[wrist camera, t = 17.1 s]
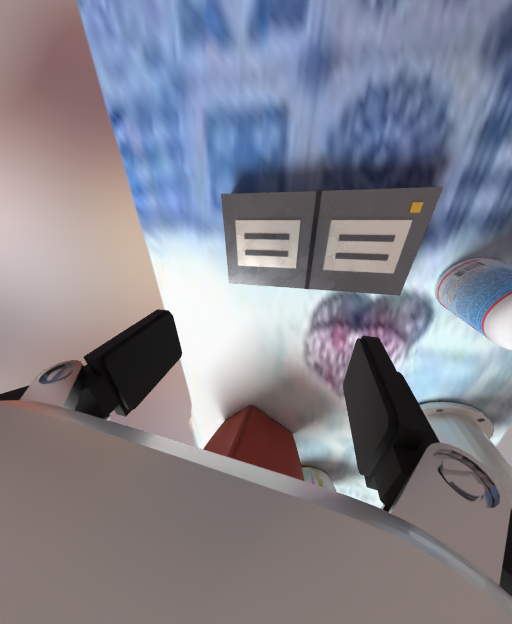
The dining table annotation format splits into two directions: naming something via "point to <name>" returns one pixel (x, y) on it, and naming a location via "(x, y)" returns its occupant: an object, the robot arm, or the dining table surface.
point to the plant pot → (257, 443)
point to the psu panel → (327, 237)
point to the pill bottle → (480, 297)
